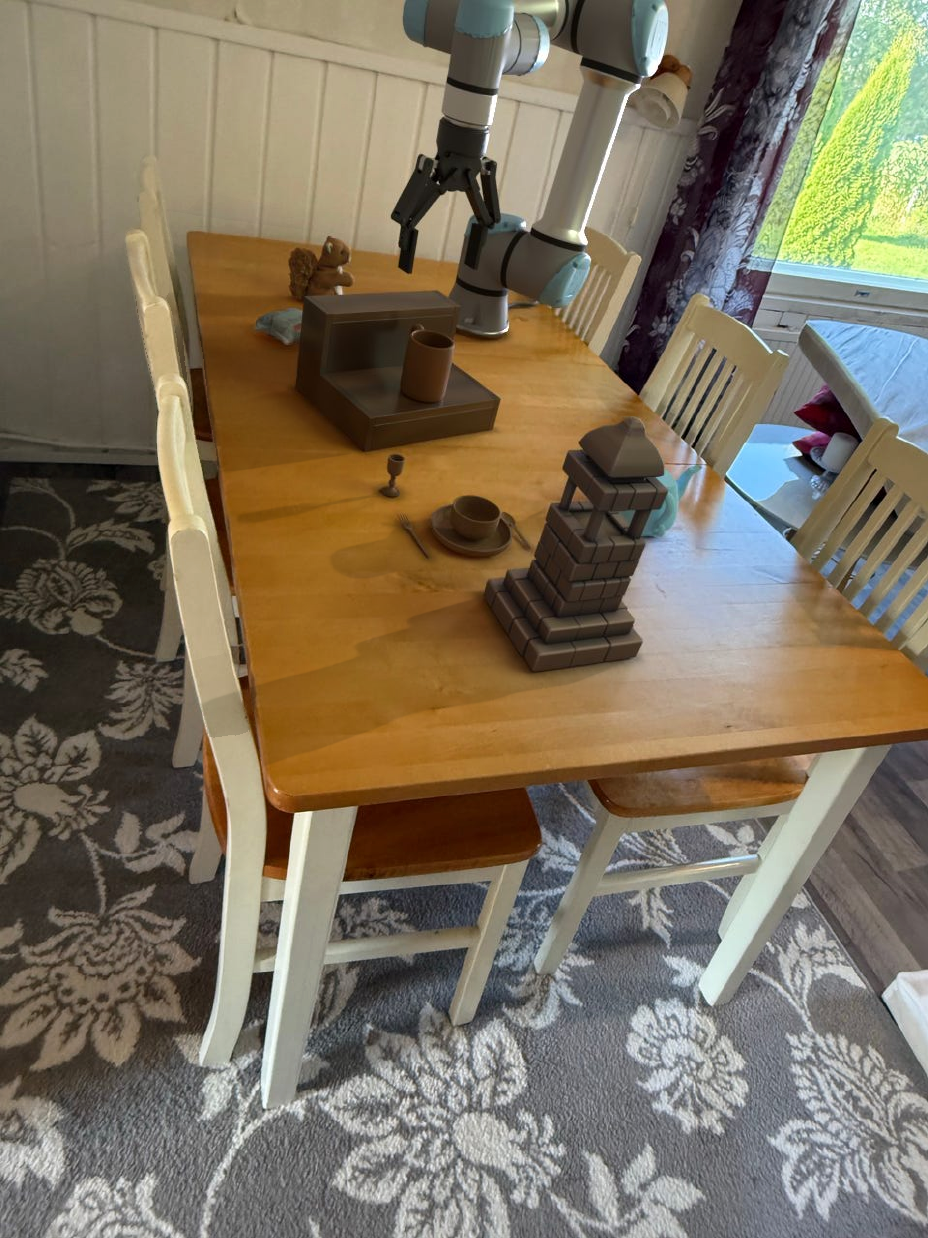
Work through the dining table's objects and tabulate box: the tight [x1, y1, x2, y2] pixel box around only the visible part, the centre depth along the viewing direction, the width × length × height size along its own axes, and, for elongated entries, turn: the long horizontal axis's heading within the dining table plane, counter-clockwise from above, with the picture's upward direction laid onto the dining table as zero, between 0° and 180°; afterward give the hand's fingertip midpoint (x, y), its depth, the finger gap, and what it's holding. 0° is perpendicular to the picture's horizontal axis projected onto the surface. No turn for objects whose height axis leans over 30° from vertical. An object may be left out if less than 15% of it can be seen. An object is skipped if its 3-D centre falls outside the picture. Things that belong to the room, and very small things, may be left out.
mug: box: [400, 324, 456, 403], centre depth 140 cm, size 12×8×9 cm, turn 23°
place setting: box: [380, 453, 532, 558], centre depth 123 cm, size 18×20×6 cm
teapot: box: [619, 465, 703, 538], centre depth 133 cm, size 13×14×11 cm
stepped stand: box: [294, 289, 502, 453], centre depth 144 cm, size 22×27×16 cm
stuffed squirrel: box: [287, 235, 355, 303], centre depth 175 cm, size 10×14×13 cm
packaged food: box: [254, 307, 303, 346], centre depth 160 cm, size 9×12×5 cm
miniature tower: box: [482, 416, 668, 672], centre depth 102 cm, size 16×15×30 cm
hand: (438, 268), depth 138 cm, fingers open, 13 cm apart
